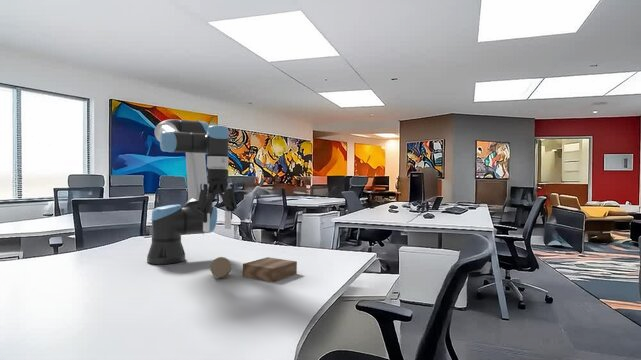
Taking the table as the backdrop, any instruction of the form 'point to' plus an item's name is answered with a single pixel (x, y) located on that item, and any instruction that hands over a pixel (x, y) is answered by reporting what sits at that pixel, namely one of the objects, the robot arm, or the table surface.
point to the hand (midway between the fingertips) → (217, 230)
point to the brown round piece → (220, 267)
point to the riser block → (269, 269)
